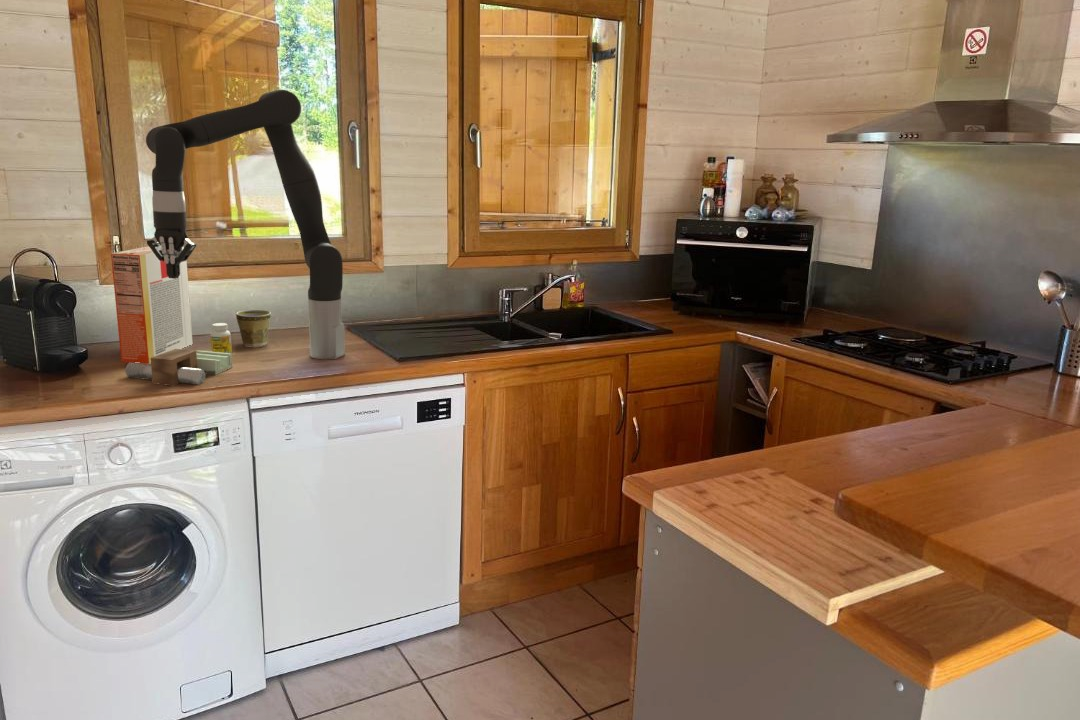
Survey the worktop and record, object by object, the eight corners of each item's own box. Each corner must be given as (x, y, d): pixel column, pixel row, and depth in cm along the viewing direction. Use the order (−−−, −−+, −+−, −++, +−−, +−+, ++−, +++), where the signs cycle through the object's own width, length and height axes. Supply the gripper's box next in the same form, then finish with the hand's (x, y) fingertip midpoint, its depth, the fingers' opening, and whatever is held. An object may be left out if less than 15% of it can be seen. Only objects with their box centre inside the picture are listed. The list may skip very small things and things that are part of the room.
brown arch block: (197, 375, 207) (196, 350, 205) (173, 385, 197) (171, 359, 195) (177, 373, 208) (175, 348, 206) (152, 383, 198) (150, 357, 196)
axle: (206, 378, 202) (202, 366, 200) (198, 387, 199) (193, 375, 197) (138, 371, 206) (132, 359, 203) (128, 380, 202) (123, 368, 200)
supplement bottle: (233, 354, 229) (231, 322, 226) (230, 358, 224) (228, 326, 221) (213, 354, 227) (211, 322, 225) (210, 359, 222) (208, 326, 220)
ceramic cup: (276, 346, 239) (274, 314, 237) (242, 350, 234) (240, 317, 231) (264, 337, 250) (262, 307, 247) (231, 340, 244) (229, 309, 242)
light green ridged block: (232, 367, 215) (231, 353, 214) (215, 374, 208) (214, 360, 207) (199, 364, 217) (198, 350, 216) (181, 371, 209) (180, 357, 208)
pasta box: (167, 342, 238) (159, 244, 231) (192, 344, 238) (185, 245, 230) (121, 361, 216) (110, 253, 209) (149, 363, 215) (139, 255, 208)
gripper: (202, 210, 198) (205, 278, 202) (155, 207, 200) (159, 274, 205) (184, 212, 191) (187, 282, 195) (135, 208, 193) (140, 277, 197)
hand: (173, 278), depth 200 cm, fingers closed
